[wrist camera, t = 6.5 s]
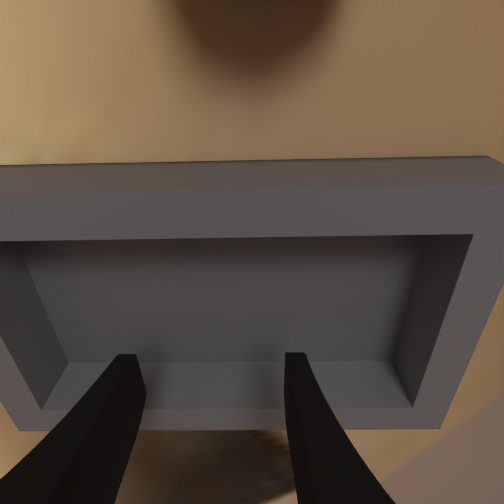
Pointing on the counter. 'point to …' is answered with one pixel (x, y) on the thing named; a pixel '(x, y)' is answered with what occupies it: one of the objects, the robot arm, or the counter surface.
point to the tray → (248, 285)
